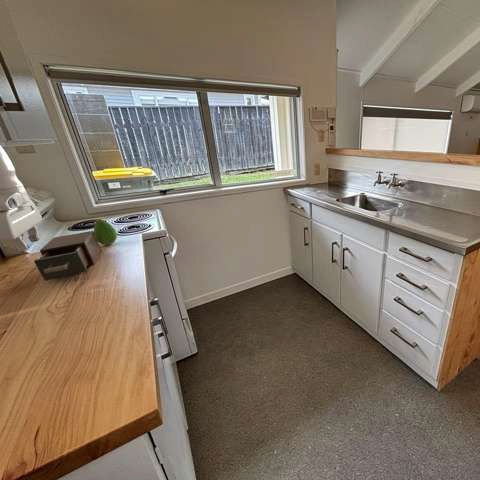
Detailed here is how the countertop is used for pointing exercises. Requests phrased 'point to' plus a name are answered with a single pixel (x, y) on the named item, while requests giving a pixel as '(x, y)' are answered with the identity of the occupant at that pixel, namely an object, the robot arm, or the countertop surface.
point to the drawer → (63, 262)
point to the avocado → (104, 232)
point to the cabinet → (76, 239)
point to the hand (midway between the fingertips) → (30, 245)
